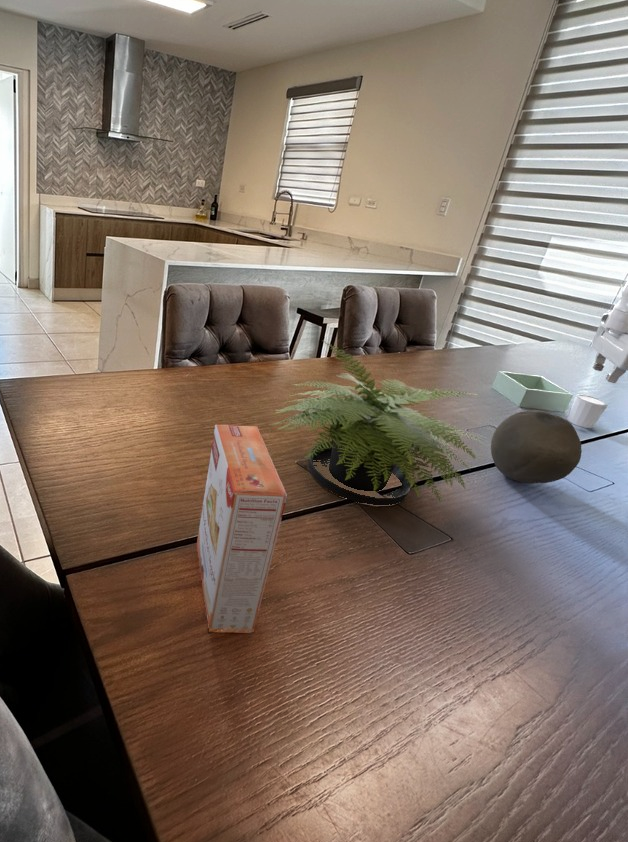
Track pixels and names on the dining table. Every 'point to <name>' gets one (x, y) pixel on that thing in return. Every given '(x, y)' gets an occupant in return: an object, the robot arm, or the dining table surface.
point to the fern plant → (375, 436)
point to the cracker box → (238, 526)
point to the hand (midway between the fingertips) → (603, 375)
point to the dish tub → (532, 391)
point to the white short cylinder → (586, 411)
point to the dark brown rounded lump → (535, 447)
